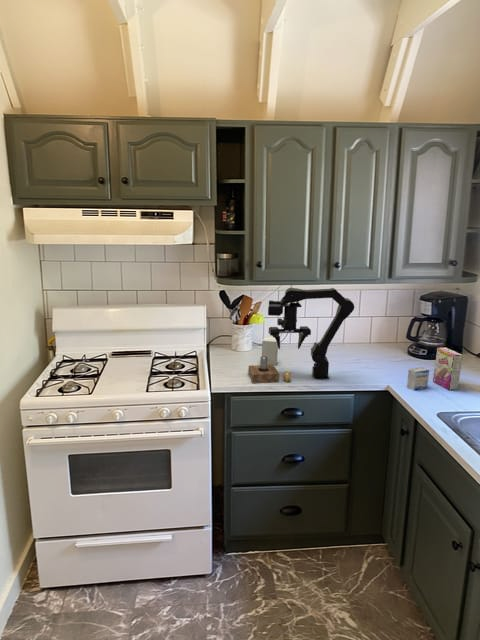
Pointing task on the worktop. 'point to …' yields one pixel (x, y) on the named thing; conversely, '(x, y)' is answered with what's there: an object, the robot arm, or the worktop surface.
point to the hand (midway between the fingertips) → (288, 348)
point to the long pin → (263, 363)
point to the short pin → (287, 377)
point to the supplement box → (270, 350)
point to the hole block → (263, 374)
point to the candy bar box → (447, 368)
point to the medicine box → (418, 378)
